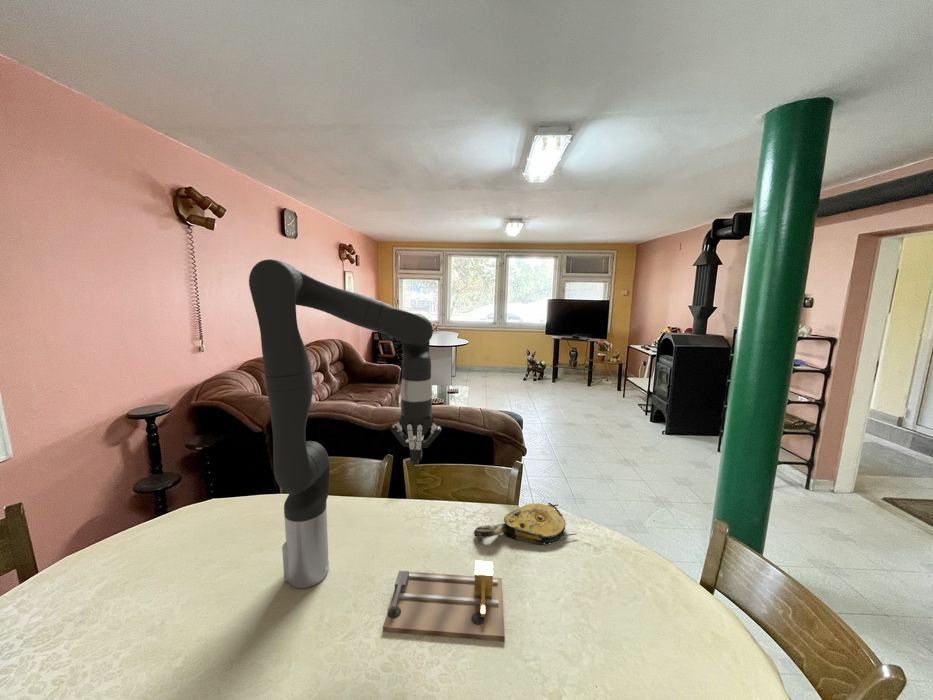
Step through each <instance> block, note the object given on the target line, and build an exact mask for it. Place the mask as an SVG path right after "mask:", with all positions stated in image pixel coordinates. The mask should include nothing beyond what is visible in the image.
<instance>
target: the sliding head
mask: <svg viewBox="0 0 933 700" xmlns="http://www.w3.org/2000/svg"><path fill="white" fill-rule="evenodd" d="M493 563H494V562H493V561H485V560H484V561H483V560H475V567H474V569H475V570H474V576H475V588H474V598H481V618H482V619H484V618H485V598H488V599H492V583H493V578H494V575H493V574H494V570H493V569H494V565H493Z"/></svg>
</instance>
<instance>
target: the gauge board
mask: <svg viewBox="0 0 933 700" xmlns="http://www.w3.org/2000/svg"><path fill="white" fill-rule="evenodd" d="M502 580H503V579H502V578H501V577H493V583H492V599H488V598H485V618H484V619H482V618H481V598H474V588H475V575H474V576H473V575H464V574H463V575H460V574H449V573H448V574H447V573H446V574H445V573H434V572H418V571H417V572H416V571H408V570H399V571H398V573H397V576H396V579H395V582H394V591H393V594H392V597H391V600H390V603H389V607H388V610H387V612H386V615H385V619H384V622H383V626H382V632H383V633H395V634H407V635H417V636H418V635H419V636H432V637H443V638H457V639H469V640H470V639H471V640H482V641H493V642H495V641H496V642H505V636H506V635H505V622H504V620H505V617H504V600H503V598H504V597H503V581H502Z"/></svg>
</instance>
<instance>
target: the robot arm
mask: <svg viewBox="0 0 933 700" xmlns="http://www.w3.org/2000/svg"><path fill="white" fill-rule="evenodd" d="M248 286H249V290H250V291H249V292H250V294H251V298H252V302H253V306H254V311H255V313H256V318H257V322H258V325H259V332H260V333H259V334H260V344H261V353H262V360H263V361H262V362H263V369H264V370H263V371H264V381H265V388H266V392H267V398H268V405H269V412H270V421H271V428H272V429H271V431H272V446H273V451H272V454H273V456H272V457H273V459H272V460H273V474H274V478H275V482H276V484H277V485H278V486H279V488H281V490H282V491H284V492H285V493H287V494H288V496H287V498H286V499H285V501H284V504H283V515H284V516H283V517H284V528H285V529H284V531H285V532H284V534H285V542H284V543H283V544H282V546H281V547H282V549H281V550H282V566H283V567H282V568H283V581H284V583H289V585H290V586H291V587H293V588H296V589H307V588H310V587H313V586H316V585H318V584H319V583H320V582H322V581H323V580H324V579H325V578H326V576H327V575H328V573H329V569H330V567H329V566H330V564H329V563H330V561H329V538H328V515H327V514H328V513H327V512H328V511H327V509H328V508H327V500H328V498H329V493H330V475H331V474H330V467H331V466H330V458H329V455H328V452H327V450H326V448H325V447H324V446H323V445H322V444H321V443H319V442H318V441H313V440H307V441H306V439H307V438H306V428H307V422H308V417H309V414H310V411H311V410H310V409H311V404H312V400H313V392H314V391H313V390H314V389H313V387H314V383H313V376H312V368H311V362H310V359H309V355H308V352H307V349H306V346H305V344H304V342H303V339H302V336H301V334H300V330H299V327H298V322H297V321H298V320H297V306H301V307H304V308H305V307H306V308H311V309H314V310H316V311H317V310H318V311H320V312H324V313H327V314H329V315H331V316H334V317H336V318H338V319H341V320H343V321H345V322H347V323H350V324H352V325H356V326H357V327H361V328H364V329H368V330H371V331H373V332H376V333H380V334H381V333H382V334H385V335H387V336H389V337H391V338H394V339H396V340H398V341H400V342H401V343H402V361H401V383H400V418H399V420H398V422H397V423H394V424H393V425H392V426H391V428H390V432H391V433H392V434H393V435H394V436H395V438H396V439H397V441H398V442H399V443H400V444H401V445H402V447H406V448H408V449H409V460H410V462H411V461H412V462H411V463H412V464H419V462H422V461H421V460H422V458H423V449H427V448H428V447H429V446H430V445H431V444H432V443H433V442H434V441H435V439H436V438H437V437H438V436H439V435H440V434H441V431H442V426H441V425H437V424H435V422H434V418H433V416H432V415H433V414H432V410H433V404H432V403H433V401H432V400H433V385H432V359H431V356H430V345H431V344H430V343H431V342H430V340H431V339H432V336H433V334H434V328H433V324H432V323H431V321H430V320H429V319H428V317H426V316H424V315H422V314H421V313H413V312H409V311H406V310H402V309H400V308H396V307H394V306H393V305H391V304H389V303H387V302H383V301H381V300H379V299H375V298H373V297H369V296H366V295H363V294H360V293H357V292H354V291H353V292H352V291H350V290H346V289H342V288H339V287H336V286H333V285H329V284H327V283H324V282H322V281H320V280H318V279H316V278H314V277H311V276H310V275H307V274H306V273H303V272H302V271H300V270H298V269H296V268H295V267H294V266H293V265H291V264H289V263H286V262H283V261H281V260H277V259H271V258H270V259H269V258H268V259H263V260H260V261H259V262H256V263H255V265H254V266H253V267H252V268H251V270H250V273H249V276H248ZM429 430H430V435H428V436H427V438H426V439H425V440H424V437H425V435H426V434H427V433H428V432H429ZM404 432H405V433H404ZM406 434H407V435H406Z"/></svg>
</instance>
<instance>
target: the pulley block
mask: <svg viewBox="0 0 933 700" xmlns="http://www.w3.org/2000/svg"><path fill="white" fill-rule="evenodd" d="M558 506H559V504H552V503H551V502H548V503H547V504H543V503H529V504H525V505H523V506H521V507H519V508H516V509H514V510H513V511H510V512H509V513H507V514H506V515H505V516H504V518H503V522H504V523H500V524H494V525H490V524H487V525H480V526H478V527H476V528H475V529H474V531H473V532H472V534H474V535H473V537H482V538H483V537H487V538H490V537H493V536H498V535H501V534H503V535H504V536H505V537H507V538H509V539H512V540H515V541H520V542H526V543H530V544H535V545H538V546H543V545H550V544H549V543H552V544H554V543H553V542H555V543H556V541H557V542H558V541H560V540H561V539H562V538H563V537H566V536H567V537H568V536H574V535H578V533H568V534H564V533H565V529H566V525H567V522H566V519H565V518H564V517H563V514H562V513H561V512H560V510H559V509H558V508H557V507H558ZM554 509H555V510H554ZM561 537H562V538H561ZM560 538H561V539H560ZM559 539H560V540H559ZM543 543H545V544H543ZM542 544H543V545H542Z"/></svg>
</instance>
